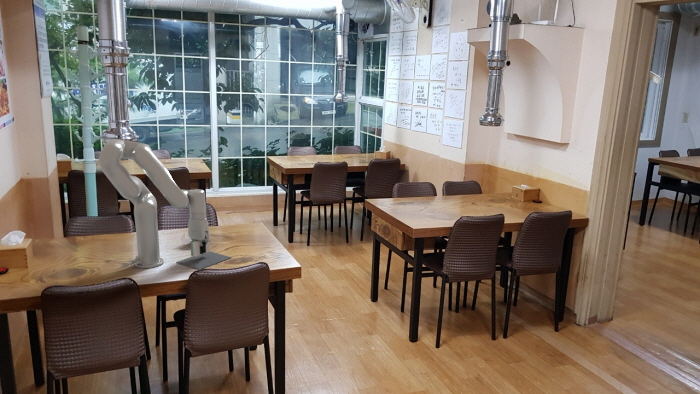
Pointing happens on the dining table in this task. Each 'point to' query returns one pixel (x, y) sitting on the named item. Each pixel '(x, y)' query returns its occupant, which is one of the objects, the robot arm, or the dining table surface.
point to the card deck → (198, 248)
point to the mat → (203, 260)
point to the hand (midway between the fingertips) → (200, 252)
